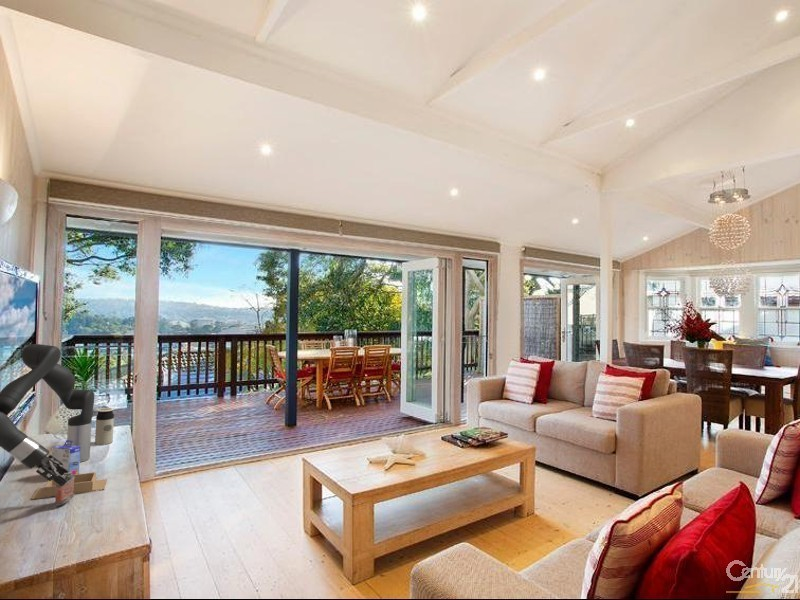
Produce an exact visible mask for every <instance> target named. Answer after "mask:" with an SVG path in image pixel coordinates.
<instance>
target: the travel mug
mask: <svg viewBox="0 0 800 600" xmlns="http://www.w3.org/2000/svg"><path fill="white" fill-rule="evenodd" d="M114 410H115V409H114V408H112V407H105V408H104V407H103V408H98V409H97V410H96V411H97V414H96V415H95V416H96V417H95V435H94V437H95V439H94V444H95V445H96V446H97V445H98V446H104V444H105V445H110V444H111V443H113V441H114V425H115V424H114V422H115V414H114Z"/></svg>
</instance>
